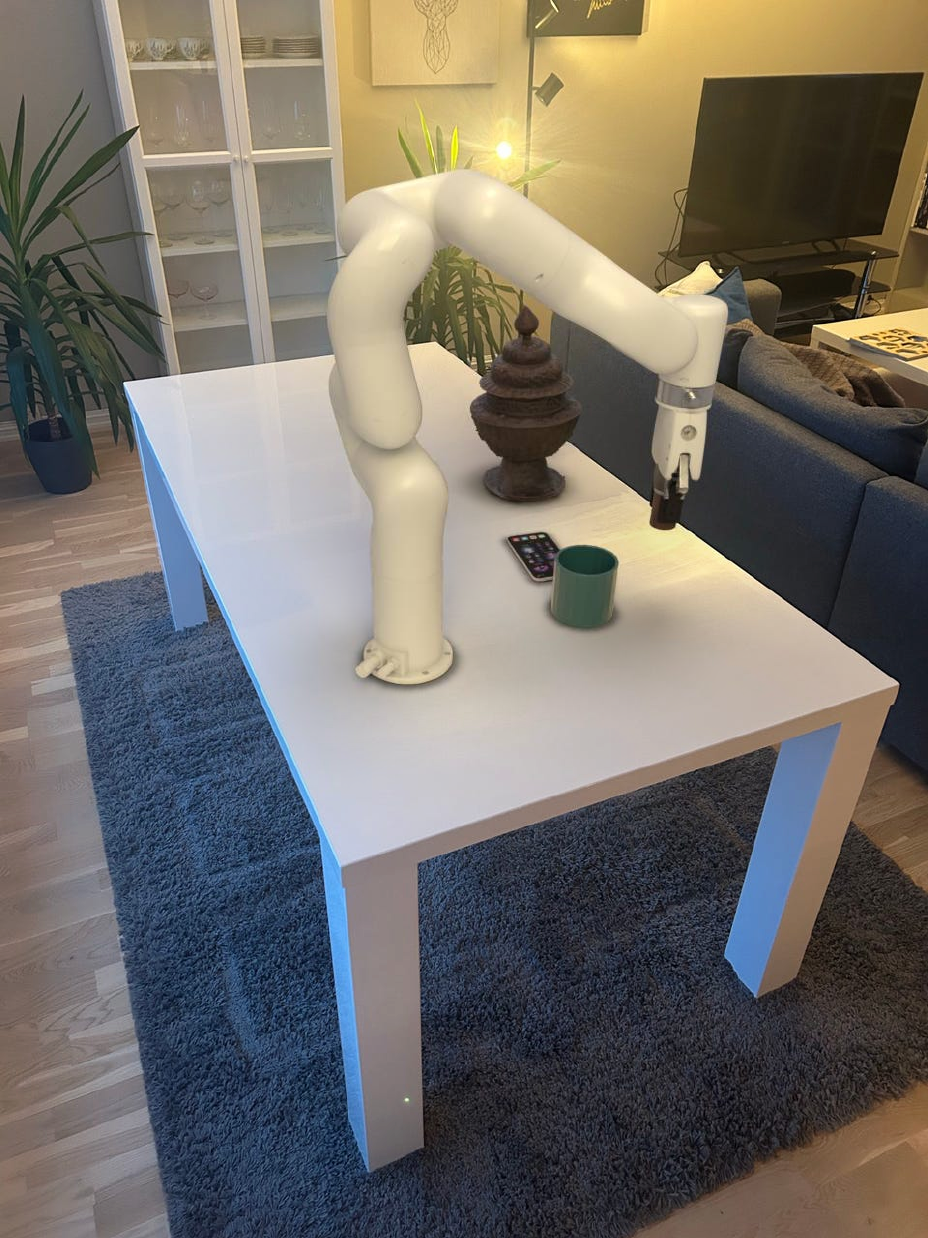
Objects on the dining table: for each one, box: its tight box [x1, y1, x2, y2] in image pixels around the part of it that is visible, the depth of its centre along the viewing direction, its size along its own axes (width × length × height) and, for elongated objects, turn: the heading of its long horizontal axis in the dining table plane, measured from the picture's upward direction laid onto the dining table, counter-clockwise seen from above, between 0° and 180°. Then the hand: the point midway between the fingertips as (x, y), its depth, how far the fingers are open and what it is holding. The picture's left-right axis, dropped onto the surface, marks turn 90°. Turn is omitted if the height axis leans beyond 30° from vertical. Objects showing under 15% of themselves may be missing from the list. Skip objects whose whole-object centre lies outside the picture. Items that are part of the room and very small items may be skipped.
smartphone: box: [506, 531, 561, 582], centre depth 159 cm, size 8×1×15 cm
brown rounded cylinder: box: [648, 463, 677, 531], centre depth 135 cm, size 4×4×11 cm
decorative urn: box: [469, 304, 582, 503], centre depth 173 cm, size 20×20×35 cm
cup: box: [550, 544, 620, 629], centre depth 144 cm, size 9×9×9 cm
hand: (664, 513), depth 138 cm, fingers closed on brown rounded cylinder, 4 cm apart
